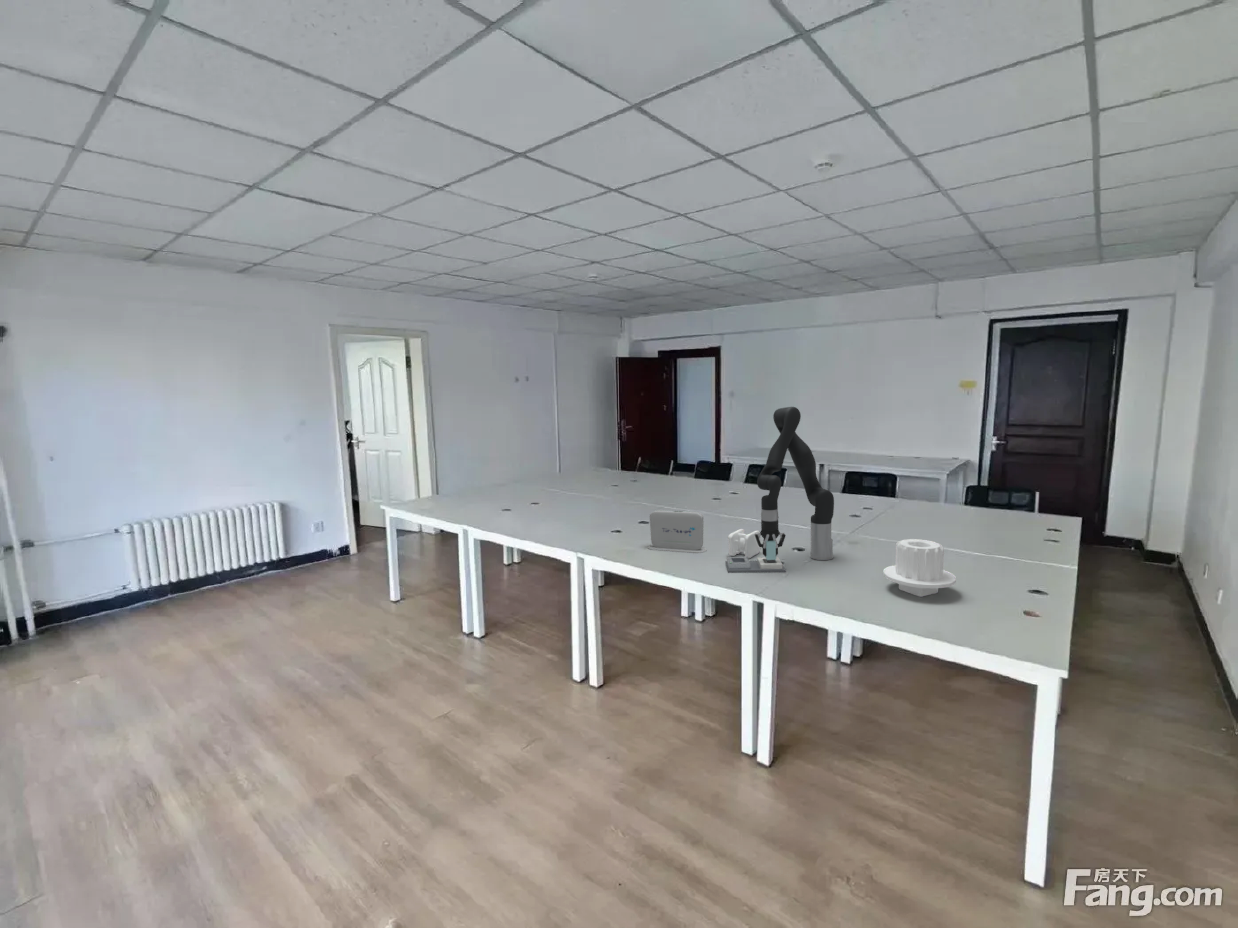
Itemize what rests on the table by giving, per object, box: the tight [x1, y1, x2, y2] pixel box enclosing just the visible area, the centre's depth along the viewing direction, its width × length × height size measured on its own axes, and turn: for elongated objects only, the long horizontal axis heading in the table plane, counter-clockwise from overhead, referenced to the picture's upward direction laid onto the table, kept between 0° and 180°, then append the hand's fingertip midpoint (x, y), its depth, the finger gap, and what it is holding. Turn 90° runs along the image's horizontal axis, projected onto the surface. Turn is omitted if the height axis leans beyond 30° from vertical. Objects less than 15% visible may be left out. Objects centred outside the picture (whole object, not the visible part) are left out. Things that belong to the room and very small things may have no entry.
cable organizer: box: [727, 528, 761, 560], centre depth 278 cm, size 15×11×12 cm
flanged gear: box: [882, 538, 957, 598], centre depth 220 cm, size 25×25×19 cm
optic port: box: [726, 556, 750, 569], centre depth 259 cm, size 10×10×3 cm
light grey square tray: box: [756, 557, 783, 569], centre depth 257 cm, size 10×10×2 cm
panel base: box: [724, 560, 786, 574], centre depth 258 cm, size 25×14×1 cm, turn 84°
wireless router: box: [647, 509, 708, 554], centre depth 292 cm, size 31×10×20 cm, turn 68°
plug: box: [764, 540, 777, 563], centre depth 256 cm, size 4×5×10 cm
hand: (770, 555), depth 257 cm, fingers closed on plug, 4 cm apart
